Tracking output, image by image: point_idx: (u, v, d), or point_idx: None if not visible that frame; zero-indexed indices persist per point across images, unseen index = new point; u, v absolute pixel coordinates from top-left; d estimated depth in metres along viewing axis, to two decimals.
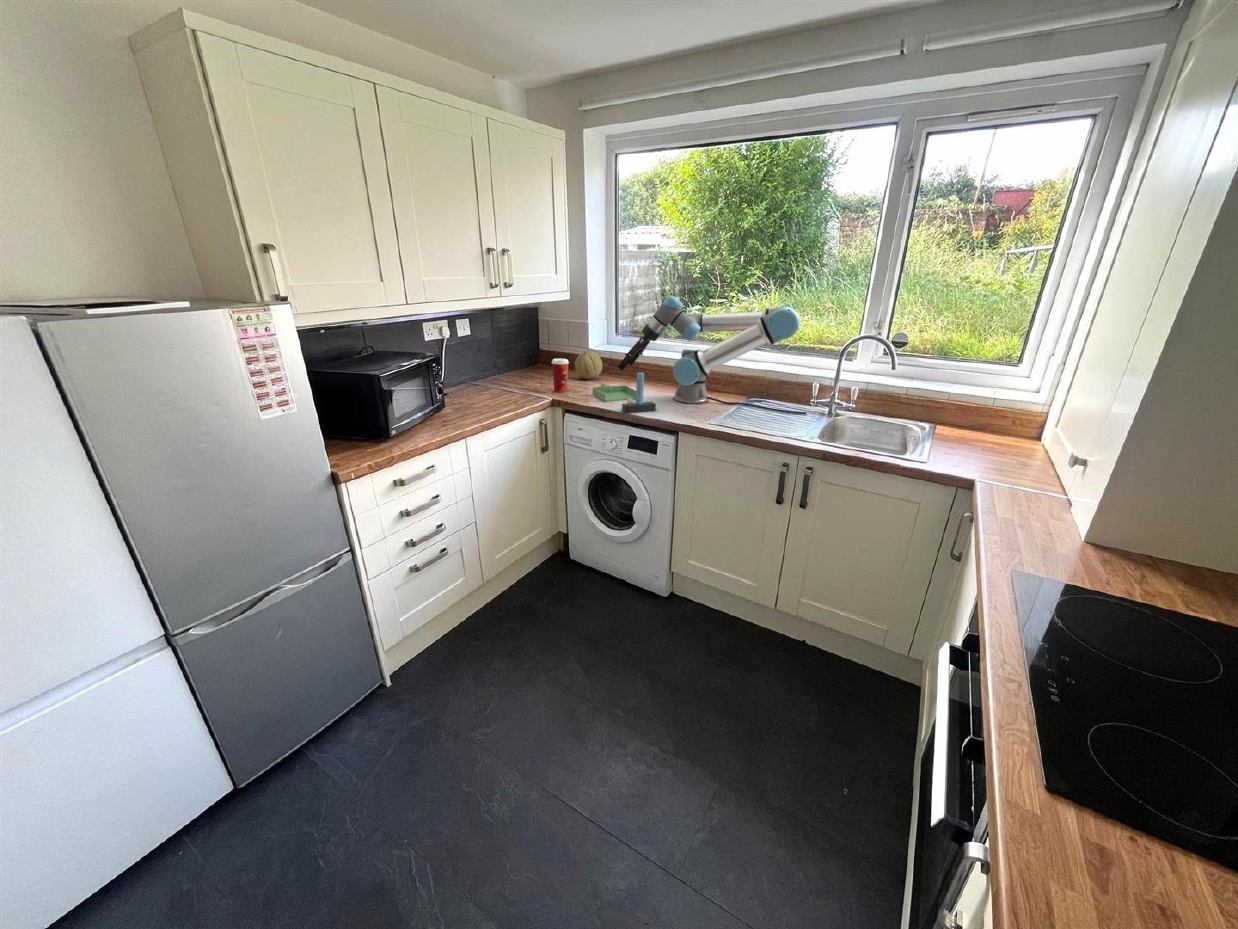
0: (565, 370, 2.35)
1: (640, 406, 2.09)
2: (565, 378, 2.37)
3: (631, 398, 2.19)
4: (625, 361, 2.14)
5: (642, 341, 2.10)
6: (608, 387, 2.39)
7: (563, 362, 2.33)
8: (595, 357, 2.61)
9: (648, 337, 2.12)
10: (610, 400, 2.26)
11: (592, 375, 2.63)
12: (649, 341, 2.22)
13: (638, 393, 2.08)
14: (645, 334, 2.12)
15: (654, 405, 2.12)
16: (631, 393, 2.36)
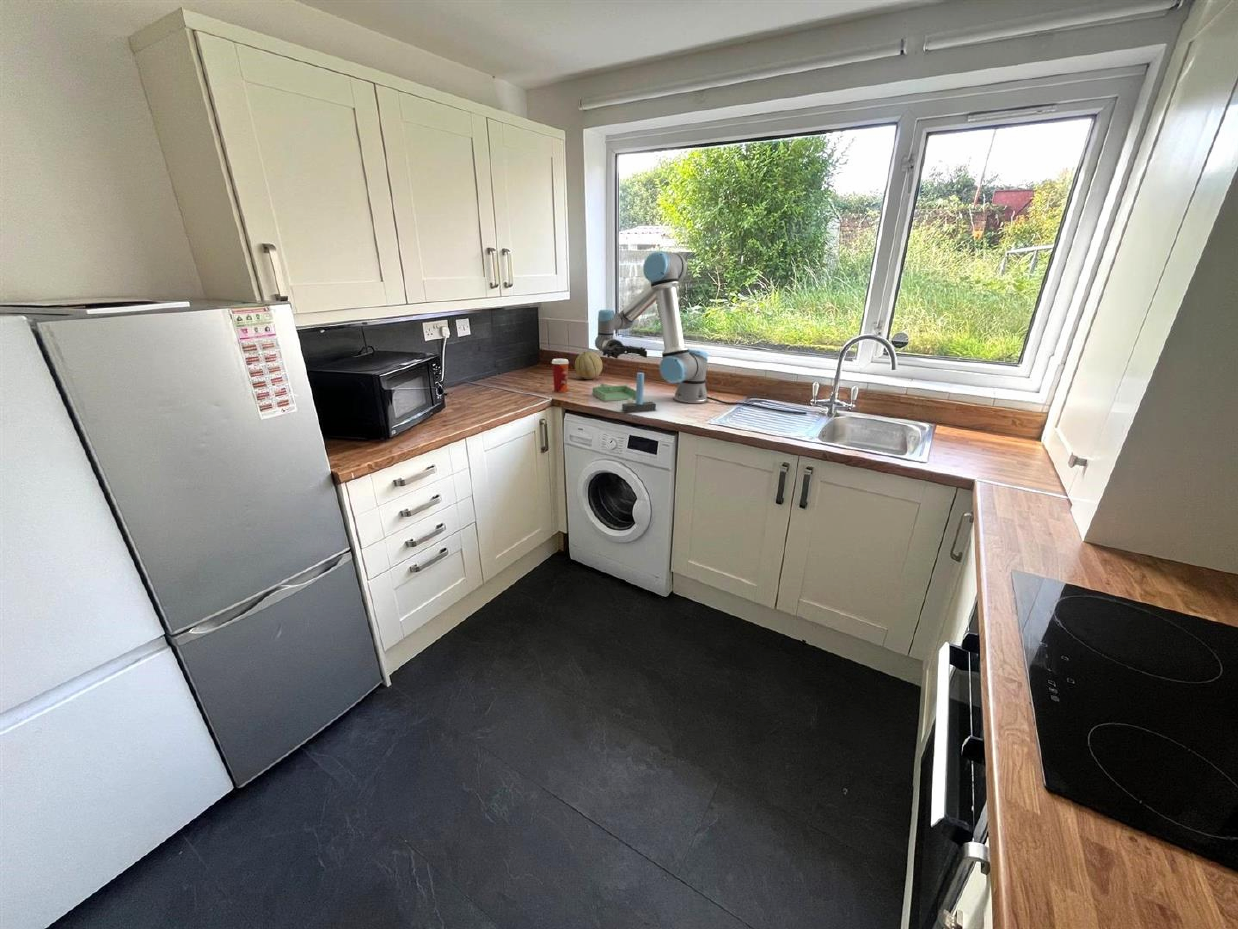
0: (565, 370, 2.35)
1: (640, 406, 2.09)
2: (565, 378, 2.37)
3: (631, 398, 2.19)
4: (609, 353, 2.13)
5: (603, 348, 2.23)
6: (608, 387, 2.39)
7: (563, 362, 2.33)
8: (595, 357, 2.61)
9: (608, 346, 2.26)
10: (610, 400, 2.26)
11: (592, 375, 2.63)
12: (630, 346, 2.26)
13: (638, 393, 2.08)
14: None
15: (654, 405, 2.12)
16: (631, 393, 2.36)
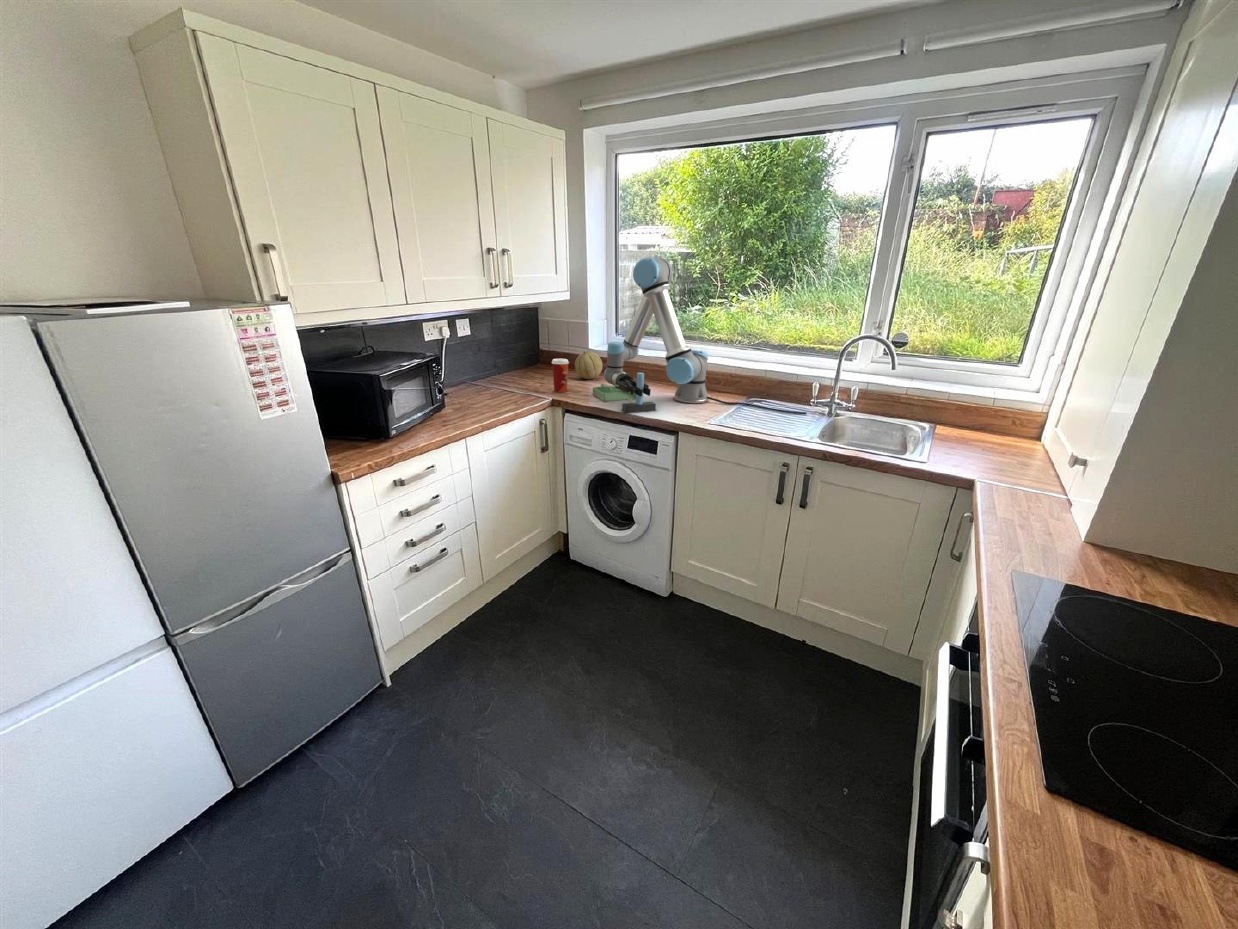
0: (565, 370, 2.35)
1: (640, 406, 2.09)
2: (565, 378, 2.37)
3: (631, 398, 2.19)
4: (633, 390, 2.07)
5: (616, 384, 2.15)
6: (608, 387, 2.39)
7: (563, 362, 2.33)
8: (595, 357, 2.61)
9: (618, 380, 2.19)
10: (610, 400, 2.26)
11: (592, 375, 2.63)
12: None
13: None
14: None
15: (654, 405, 2.12)
16: None
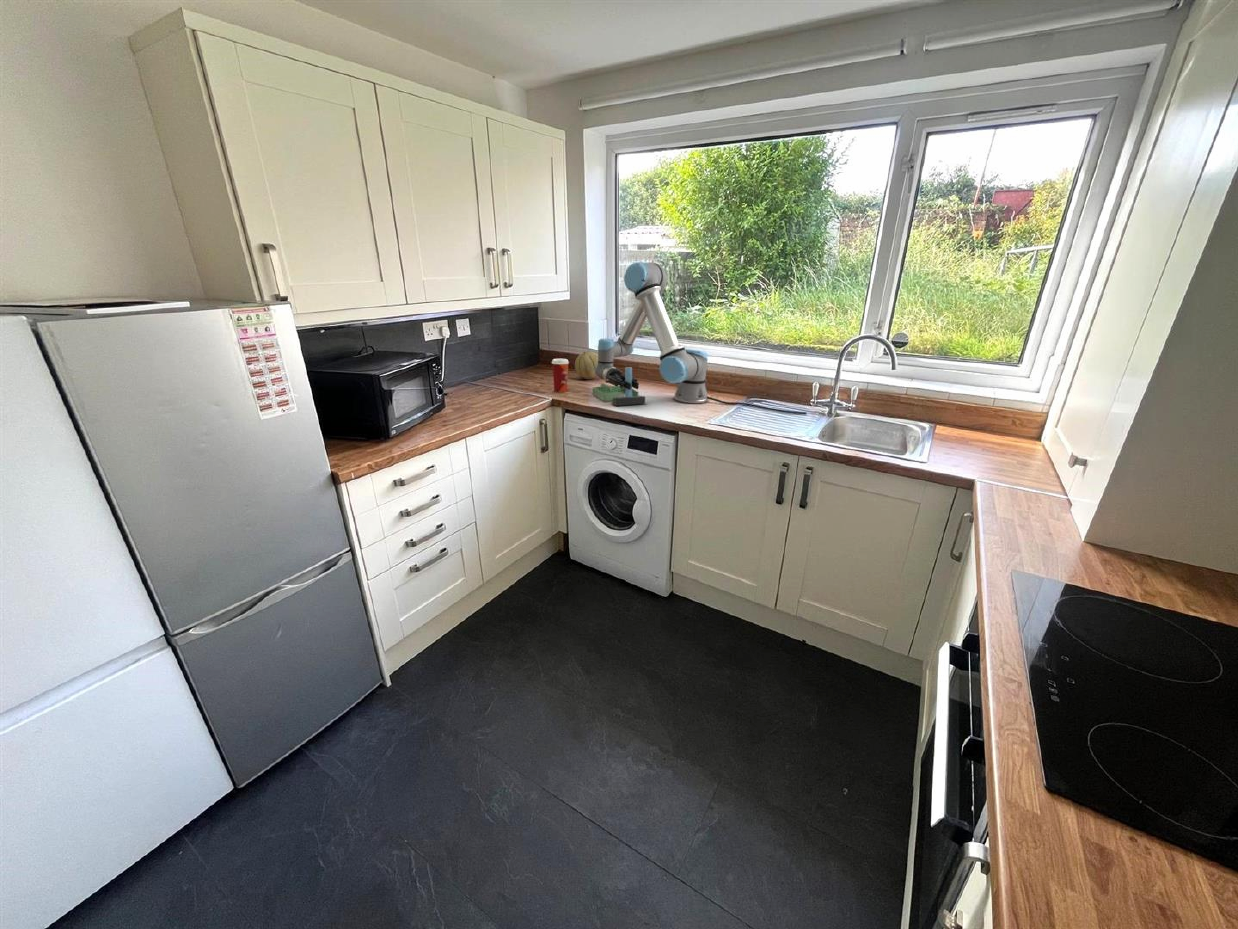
0: (565, 370, 2.35)
1: (630, 398, 2.19)
2: (565, 378, 2.37)
3: (624, 395, 2.25)
4: (622, 384, 2.17)
5: (606, 378, 2.25)
6: (608, 387, 2.39)
7: (563, 362, 2.33)
8: (595, 357, 2.61)
9: (608, 375, 2.30)
10: (610, 400, 2.26)
11: (592, 375, 2.63)
12: None
13: None
14: None
15: (643, 398, 2.21)
16: None
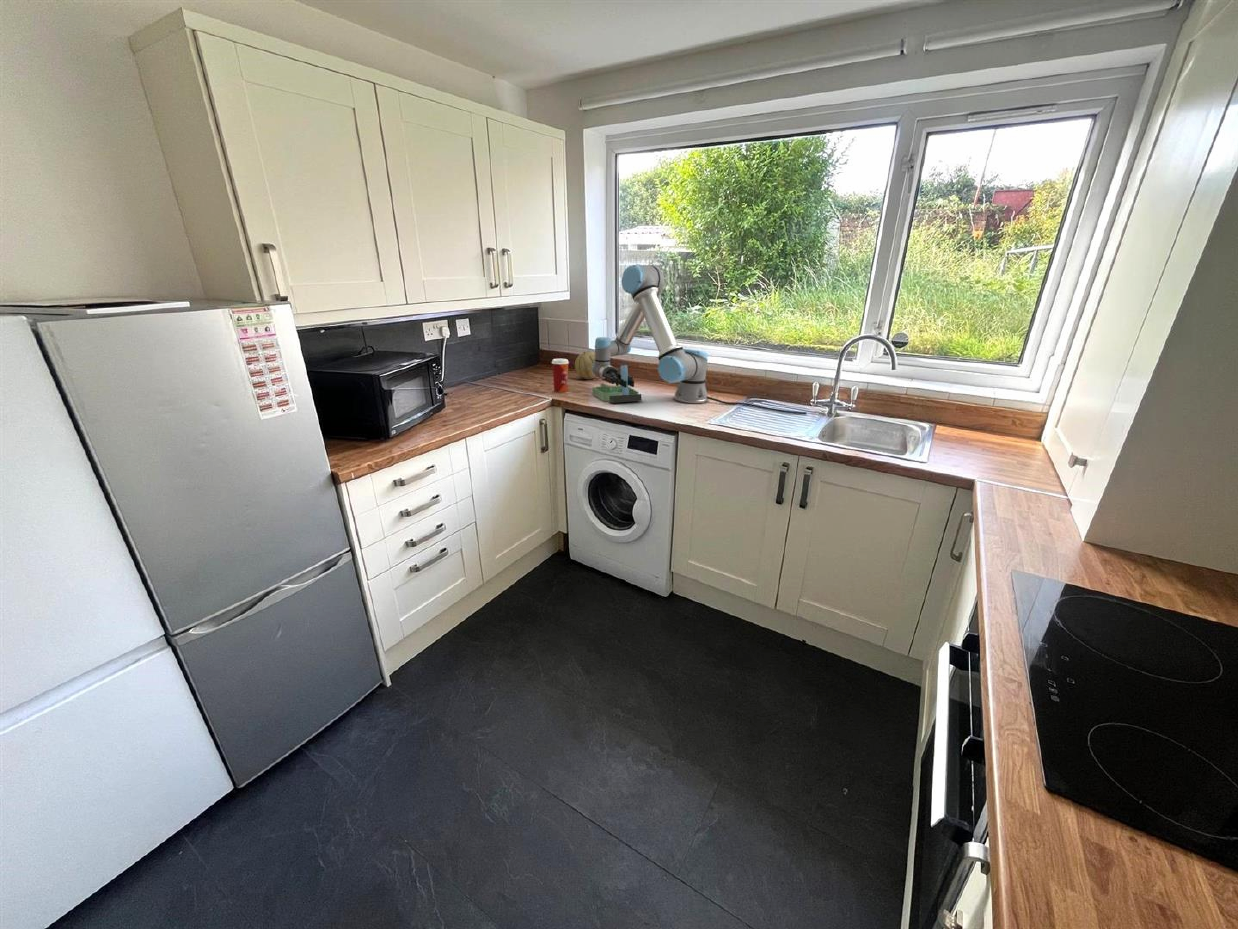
0: (565, 370, 2.35)
1: (627, 395, 2.22)
2: (565, 378, 2.37)
3: None
4: (618, 382, 2.21)
5: (602, 376, 2.29)
6: (608, 387, 2.39)
7: (563, 362, 2.33)
8: None
9: (605, 373, 2.33)
10: None
11: (592, 375, 2.63)
12: None
13: None
14: None
15: (640, 395, 2.24)
16: (631, 393, 2.36)
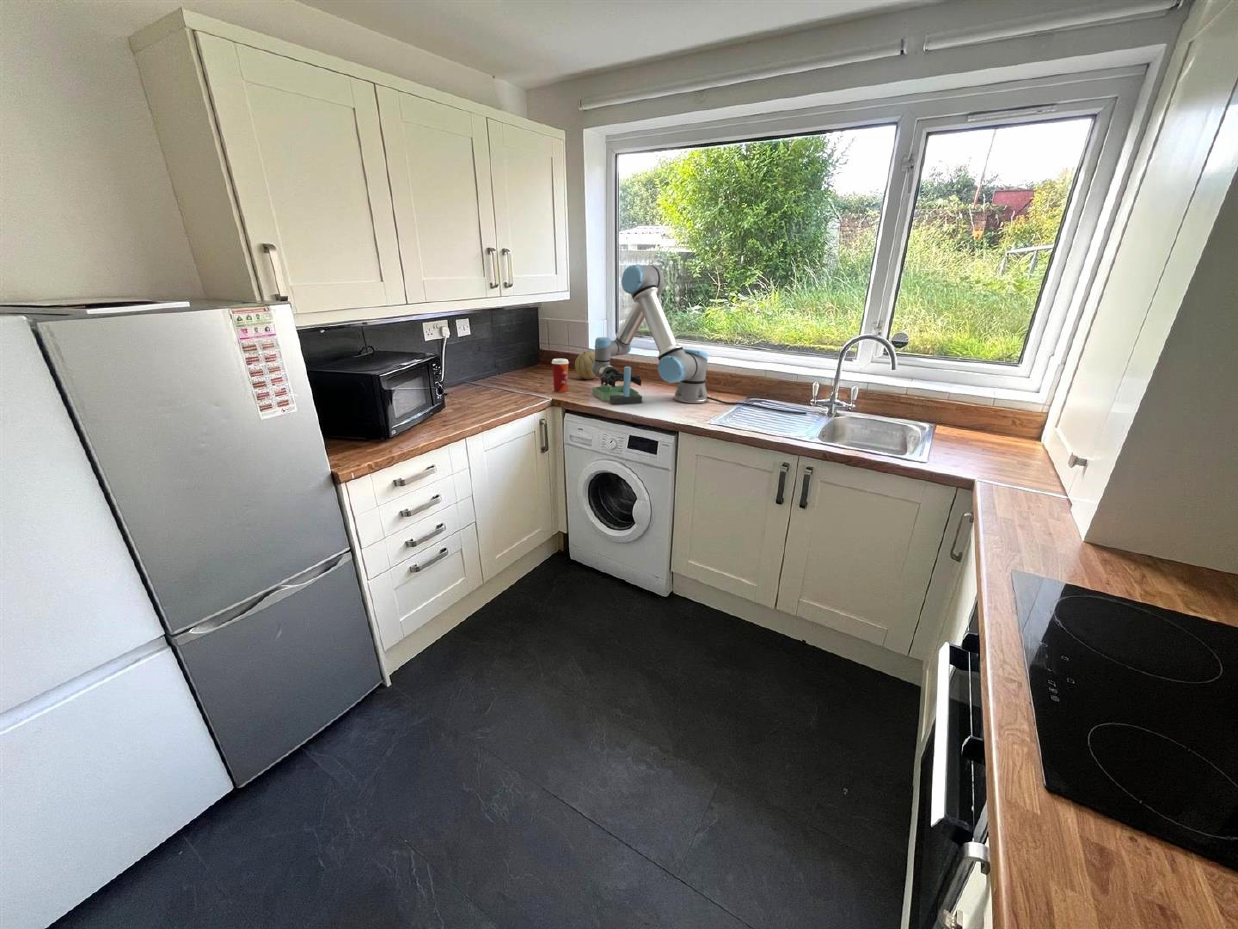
0: (565, 370, 2.35)
1: (627, 398, 2.21)
2: (565, 378, 2.37)
3: None
4: (607, 381, 2.21)
5: (600, 376, 2.31)
6: (608, 387, 2.39)
7: (563, 362, 2.33)
8: None
9: (605, 373, 2.34)
10: None
11: (592, 375, 2.63)
12: None
13: (625, 386, 2.20)
14: None
15: (640, 397, 2.24)
16: (631, 393, 2.36)
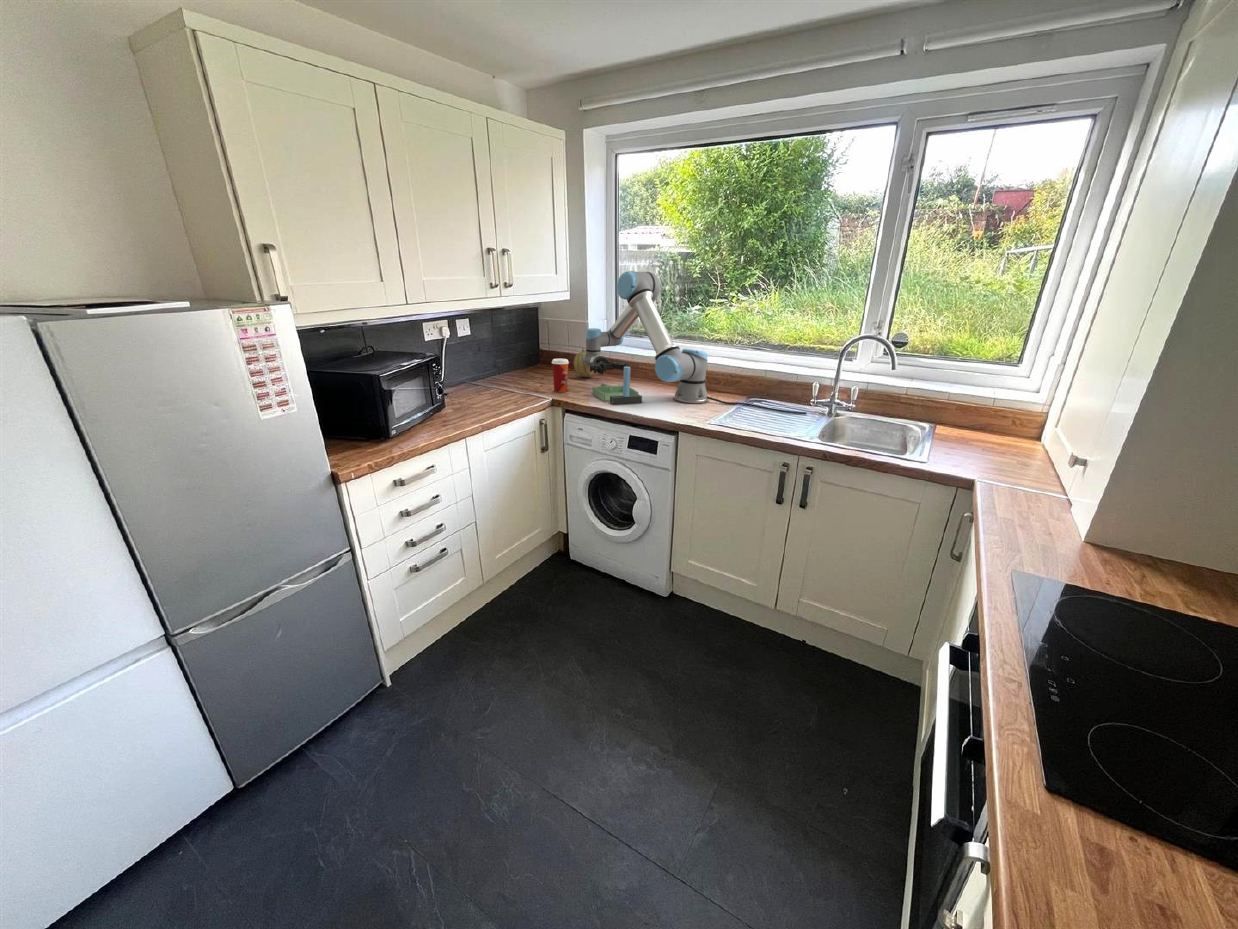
0: (565, 370, 2.35)
1: (627, 398, 2.21)
2: (565, 378, 2.37)
3: None
4: (595, 369, 2.31)
5: (590, 364, 2.41)
6: (608, 387, 2.39)
7: (563, 362, 2.33)
8: None
9: (595, 362, 2.44)
10: None
11: (590, 372, 2.65)
12: (615, 362, 2.44)
13: (625, 386, 2.20)
14: None
15: (640, 397, 2.24)
16: (631, 393, 2.36)
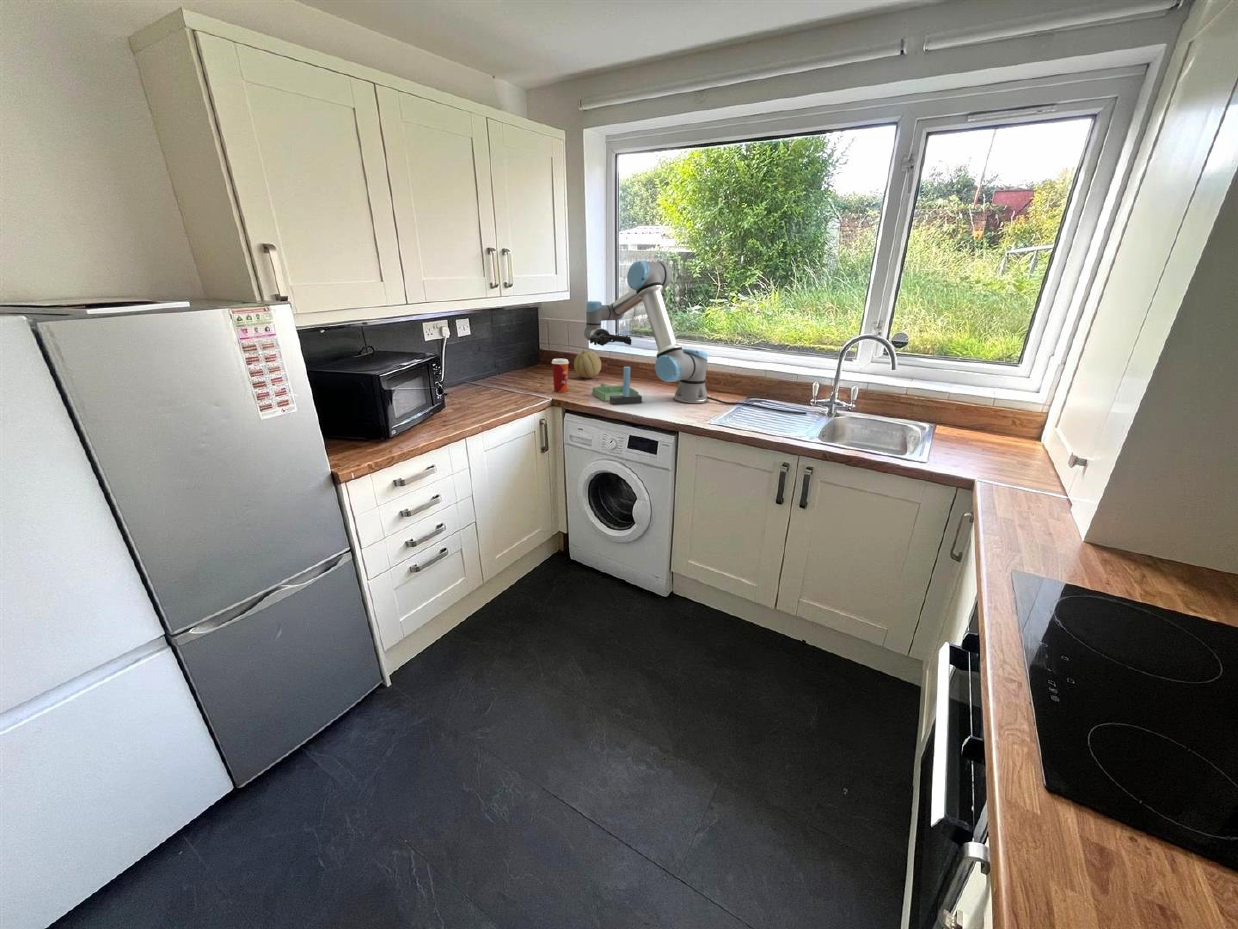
0: (565, 370, 2.35)
1: (627, 398, 2.21)
2: (565, 378, 2.37)
3: None
4: (596, 340, 2.26)
5: None
6: (608, 387, 2.39)
7: (563, 362, 2.33)
8: (594, 356, 2.63)
9: (595, 335, 2.39)
10: None
11: (591, 374, 2.65)
12: (616, 335, 2.39)
13: (625, 386, 2.20)
14: None
15: (640, 397, 2.24)
16: (631, 393, 2.36)
